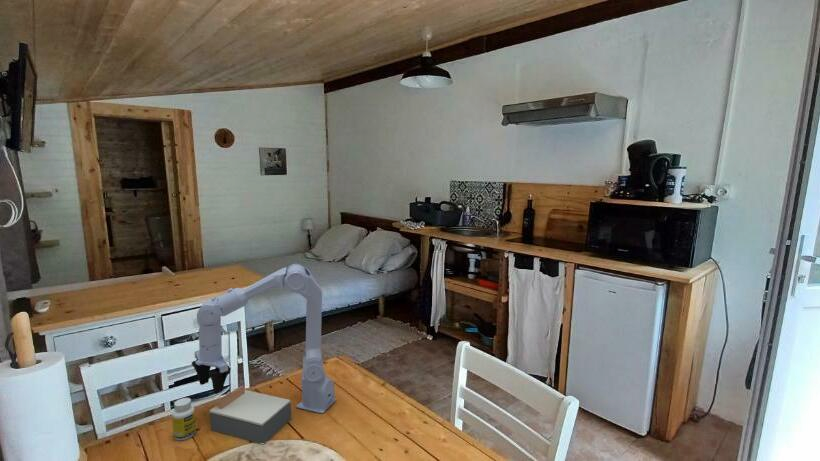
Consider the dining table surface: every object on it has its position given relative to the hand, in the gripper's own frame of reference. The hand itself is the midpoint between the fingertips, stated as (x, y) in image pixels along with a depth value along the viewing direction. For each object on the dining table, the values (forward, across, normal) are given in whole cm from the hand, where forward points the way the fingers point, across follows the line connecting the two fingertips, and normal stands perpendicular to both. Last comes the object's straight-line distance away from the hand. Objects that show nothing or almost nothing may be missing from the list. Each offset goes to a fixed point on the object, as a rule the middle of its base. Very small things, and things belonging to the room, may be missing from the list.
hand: (211, 387), depth 117 cm
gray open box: (+9, +12, +5) cm, 16 cm away
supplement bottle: (+10, +1, -8) cm, 13 cm away
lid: (+4, +12, +5) cm, 13 cm away
